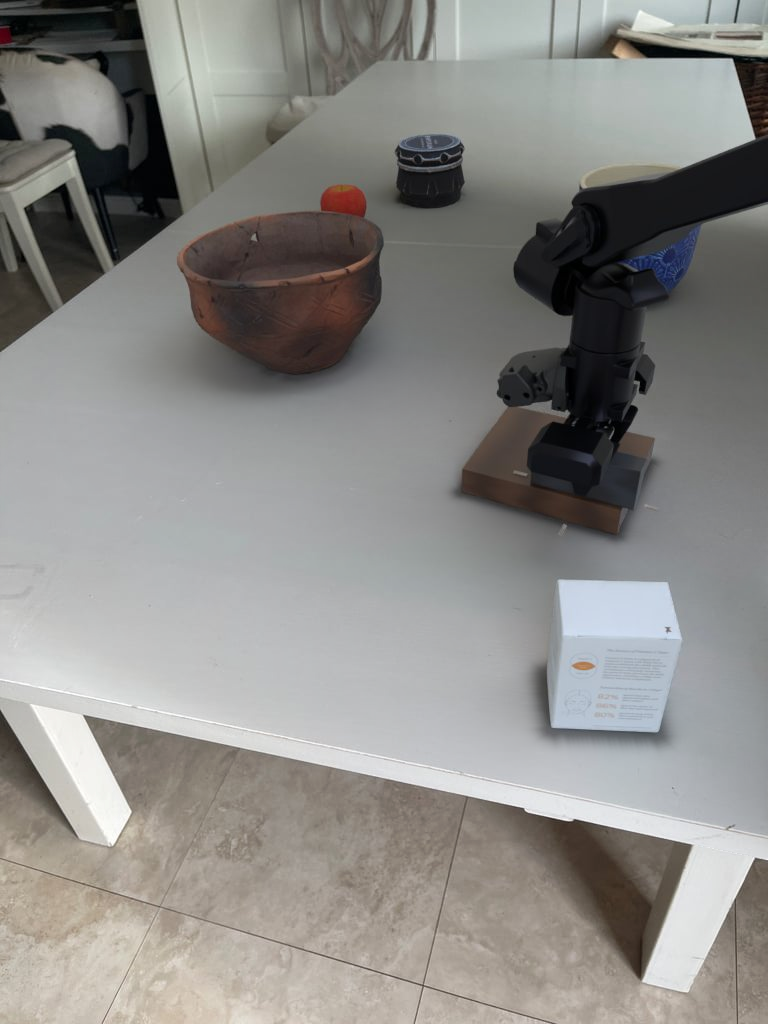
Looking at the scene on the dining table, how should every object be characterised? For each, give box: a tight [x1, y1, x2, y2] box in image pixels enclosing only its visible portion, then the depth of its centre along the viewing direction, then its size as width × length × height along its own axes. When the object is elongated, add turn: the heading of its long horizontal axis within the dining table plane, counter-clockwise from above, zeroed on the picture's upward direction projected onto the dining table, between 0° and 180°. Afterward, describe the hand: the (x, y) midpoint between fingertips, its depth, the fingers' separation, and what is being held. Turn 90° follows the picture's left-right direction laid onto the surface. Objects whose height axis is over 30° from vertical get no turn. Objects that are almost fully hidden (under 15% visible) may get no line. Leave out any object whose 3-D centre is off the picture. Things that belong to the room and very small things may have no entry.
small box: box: [546, 578, 683, 733], centre depth 58 cm, size 8×6×10 cm
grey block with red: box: [530, 452, 647, 511], centre depth 75 cm, size 10×2×5 cm, turn 62°
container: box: [394, 133, 466, 209], centre depth 148 cm, size 13×13×10 cm
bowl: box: [176, 210, 385, 375], centre depth 102 cm, size 25×25×15 cm
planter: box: [578, 162, 703, 293], centre depth 112 cm, size 17×17×15 cm
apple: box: [319, 184, 367, 218], centre depth 138 cm, size 8×8×8 cm
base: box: [461, 406, 661, 536], centre depth 80 cm, size 19×19×3 cm
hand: (584, 486), depth 77 cm, fingers closed on grey block with red, 2 cm apart
